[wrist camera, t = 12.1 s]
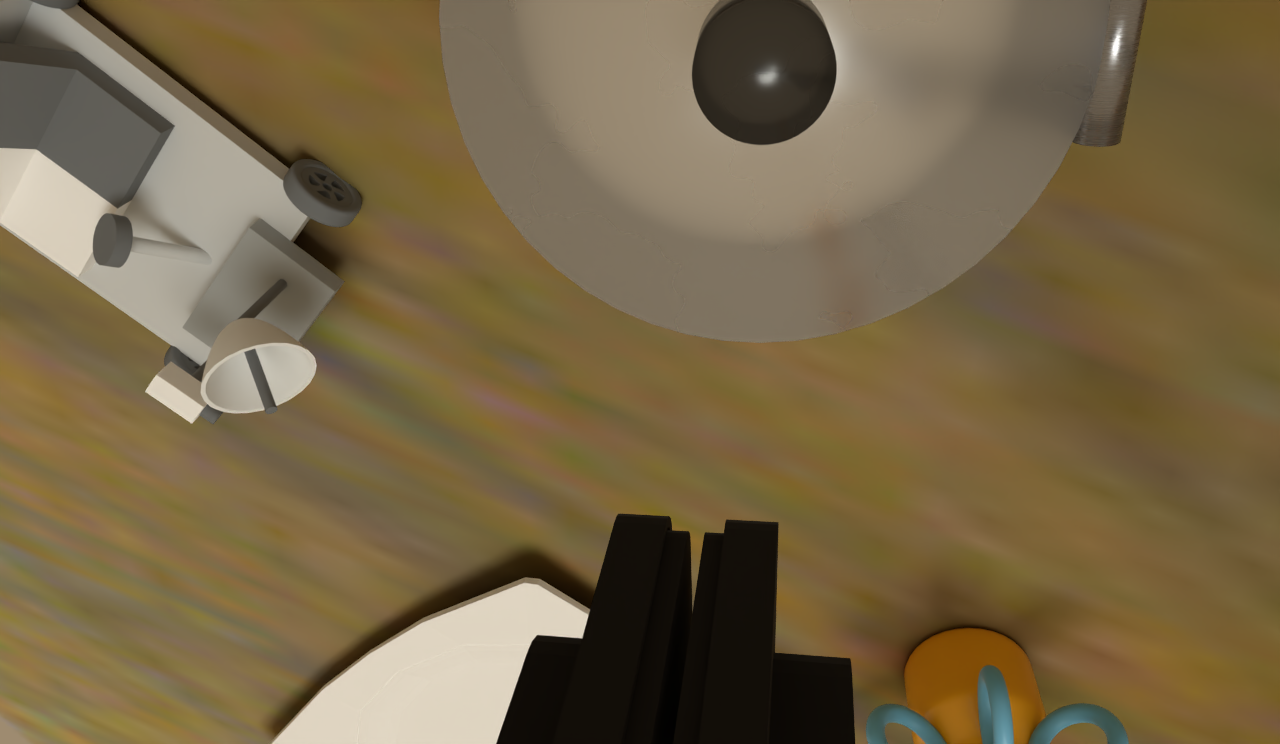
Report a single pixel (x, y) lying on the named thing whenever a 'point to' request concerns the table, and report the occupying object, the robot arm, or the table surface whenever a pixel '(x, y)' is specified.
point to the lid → (778, 143)
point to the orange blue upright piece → (979, 696)
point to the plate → (440, 673)
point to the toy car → (163, 210)
